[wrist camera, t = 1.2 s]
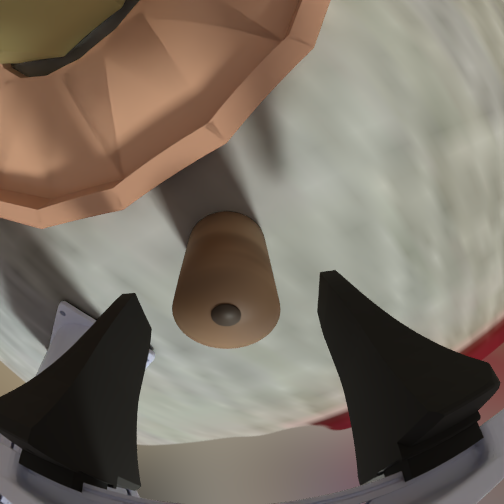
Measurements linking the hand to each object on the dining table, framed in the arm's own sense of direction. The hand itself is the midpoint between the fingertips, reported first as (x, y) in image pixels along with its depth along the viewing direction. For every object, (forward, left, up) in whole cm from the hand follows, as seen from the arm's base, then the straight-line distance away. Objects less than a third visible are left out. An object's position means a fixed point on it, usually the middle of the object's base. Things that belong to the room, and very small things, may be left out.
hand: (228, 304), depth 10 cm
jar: (+7, +16, -5) cm, 18 cm away
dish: (+7, +16, -4) cm, 18 cm away
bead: (0, 0, -5) cm, 5 cm away
